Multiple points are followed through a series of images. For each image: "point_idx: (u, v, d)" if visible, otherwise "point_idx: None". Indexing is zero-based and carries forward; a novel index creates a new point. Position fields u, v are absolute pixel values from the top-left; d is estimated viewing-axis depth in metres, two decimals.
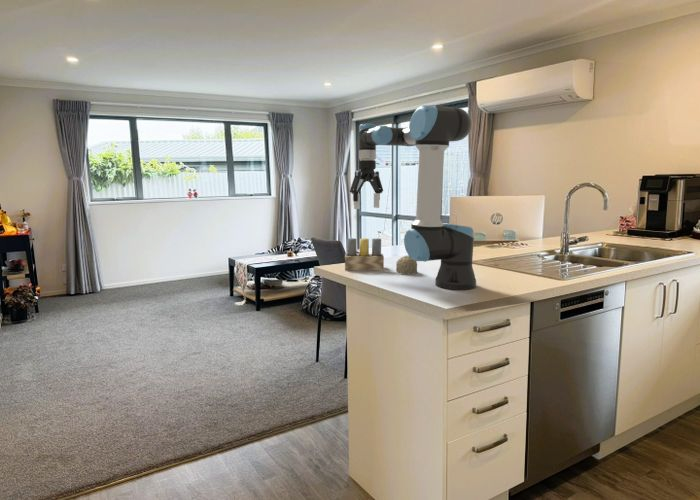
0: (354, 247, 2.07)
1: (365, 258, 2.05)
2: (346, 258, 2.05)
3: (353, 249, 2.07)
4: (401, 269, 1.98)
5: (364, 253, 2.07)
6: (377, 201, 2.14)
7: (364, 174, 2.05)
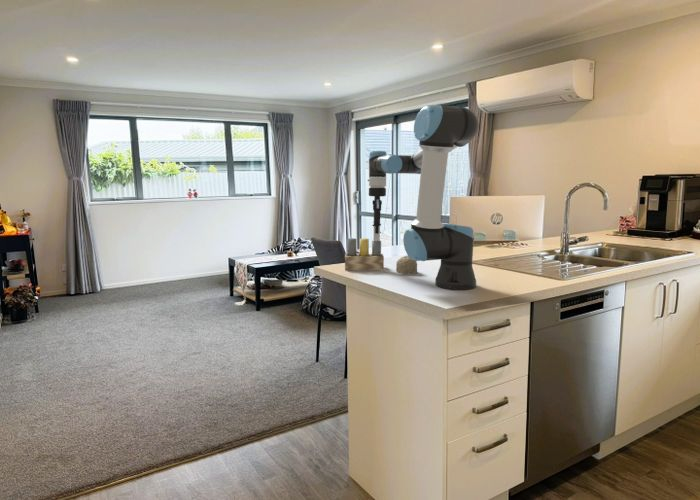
0: (354, 247, 2.07)
1: (365, 258, 2.05)
2: (346, 258, 2.05)
3: (353, 249, 2.07)
4: (401, 269, 1.98)
5: (364, 253, 2.07)
6: None
7: (379, 201, 2.03)
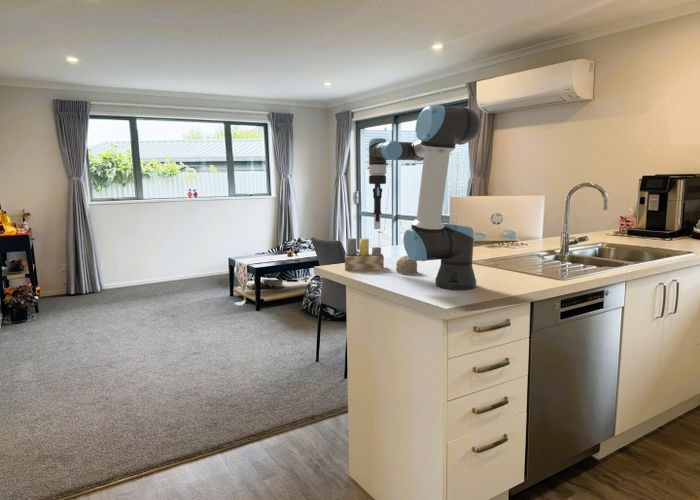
0: (354, 247, 2.07)
1: (365, 258, 2.05)
2: (346, 258, 2.05)
3: (353, 249, 2.07)
4: (401, 269, 1.98)
5: (364, 253, 2.07)
6: None
7: (380, 189, 2.02)
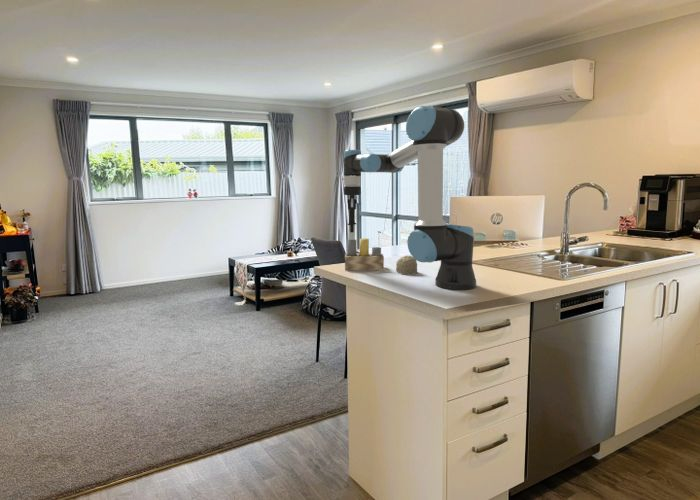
0: (354, 248, 2.07)
1: (365, 258, 2.05)
2: (346, 258, 2.05)
3: (353, 250, 2.07)
4: (401, 269, 1.98)
5: (364, 253, 2.07)
6: None
7: (354, 200, 2.03)
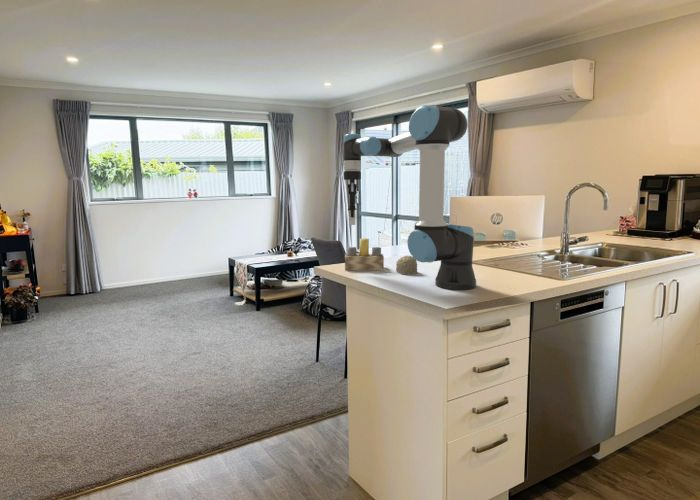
0: None
1: (365, 258, 2.05)
2: (346, 258, 2.05)
3: None
4: (401, 269, 1.98)
5: (364, 253, 2.07)
6: None
7: (354, 185, 2.02)
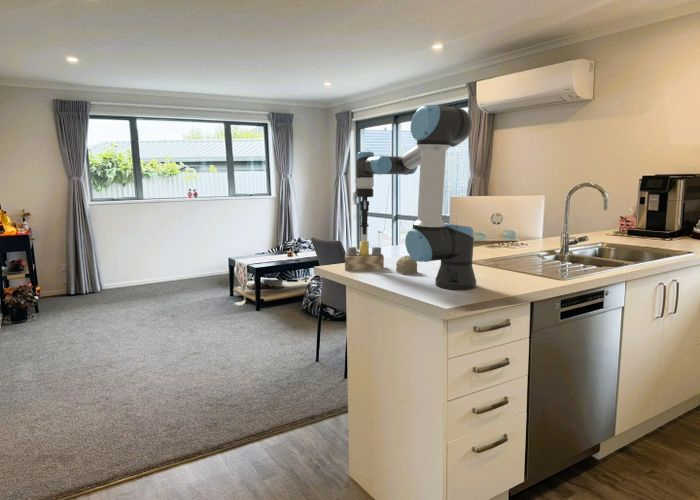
0: None
1: (365, 258, 2.05)
2: (346, 258, 2.05)
3: None
4: (401, 269, 1.98)
5: None
6: None
7: (367, 202, 2.03)
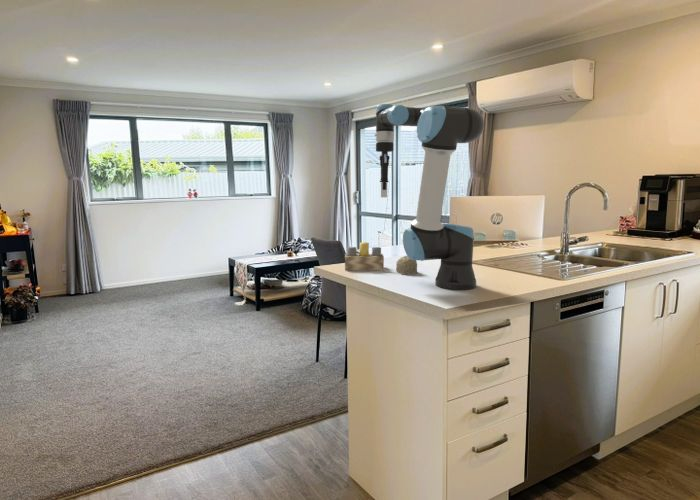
0: None
1: (365, 258, 2.05)
2: (346, 258, 2.05)
3: None
4: (401, 269, 1.98)
5: None
6: None
7: None
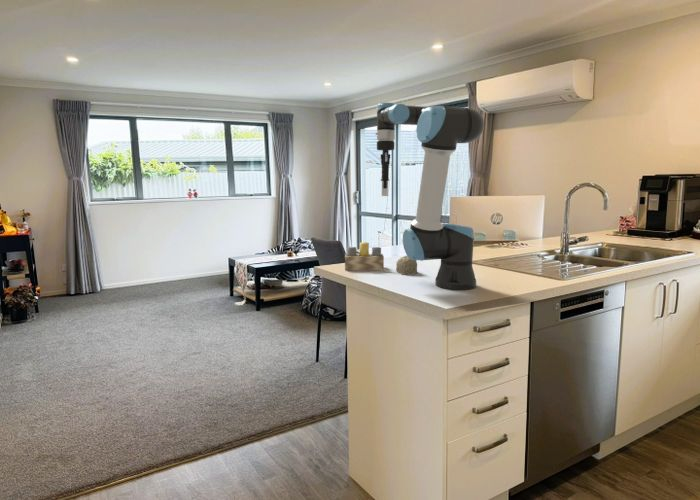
0: None
1: (365, 258, 2.05)
2: (346, 258, 2.05)
3: None
4: (401, 269, 1.98)
5: None
6: None
7: None
